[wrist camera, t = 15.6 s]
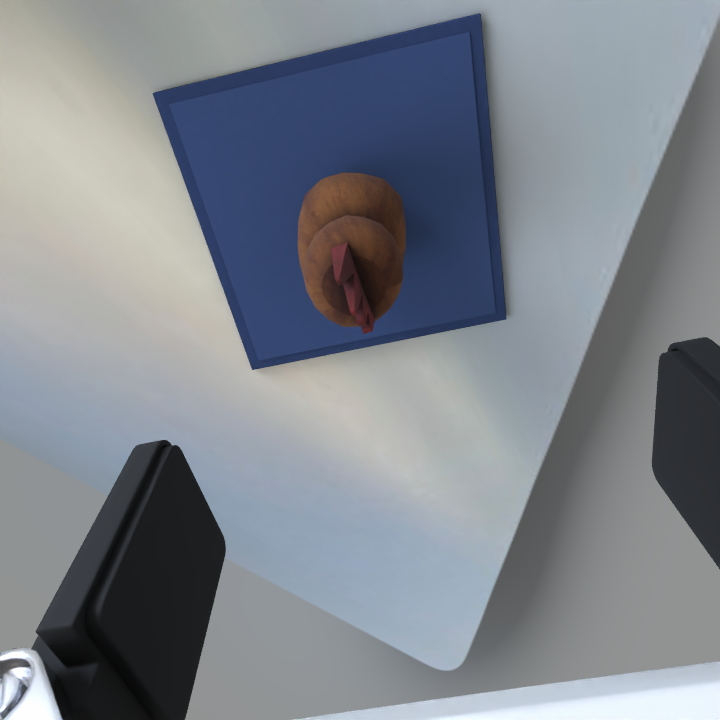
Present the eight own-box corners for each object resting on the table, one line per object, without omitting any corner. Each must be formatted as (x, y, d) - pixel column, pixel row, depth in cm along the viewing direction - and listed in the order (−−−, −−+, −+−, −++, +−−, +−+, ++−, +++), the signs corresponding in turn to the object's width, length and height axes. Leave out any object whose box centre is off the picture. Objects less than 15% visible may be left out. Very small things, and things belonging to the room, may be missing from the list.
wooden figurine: (301, 158, 31) (273, 234, 18) (401, 161, 32) (443, 238, 19) (303, 269, 35) (281, 401, 22) (393, 271, 35) (424, 402, 22)
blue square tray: (479, 13, 29) (481, 13, 28) (505, 316, 37) (507, 320, 37) (154, 92, 30) (151, 93, 30) (253, 367, 39) (252, 371, 38)
